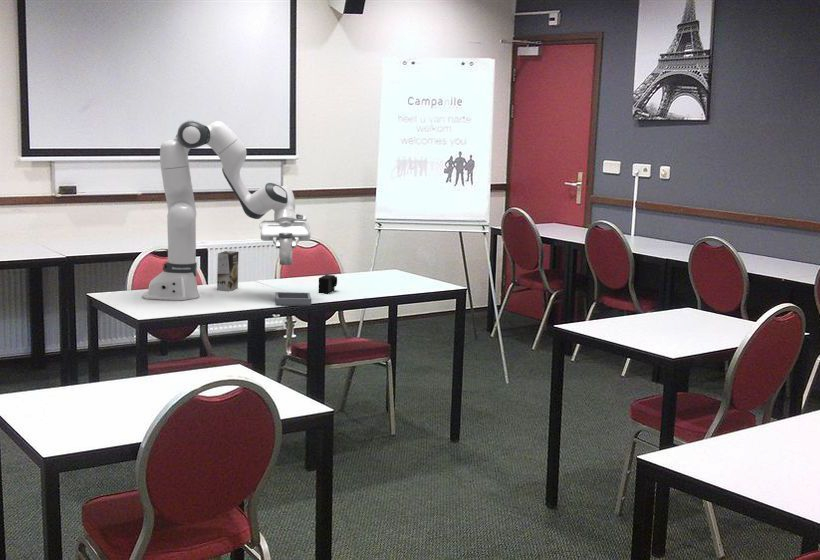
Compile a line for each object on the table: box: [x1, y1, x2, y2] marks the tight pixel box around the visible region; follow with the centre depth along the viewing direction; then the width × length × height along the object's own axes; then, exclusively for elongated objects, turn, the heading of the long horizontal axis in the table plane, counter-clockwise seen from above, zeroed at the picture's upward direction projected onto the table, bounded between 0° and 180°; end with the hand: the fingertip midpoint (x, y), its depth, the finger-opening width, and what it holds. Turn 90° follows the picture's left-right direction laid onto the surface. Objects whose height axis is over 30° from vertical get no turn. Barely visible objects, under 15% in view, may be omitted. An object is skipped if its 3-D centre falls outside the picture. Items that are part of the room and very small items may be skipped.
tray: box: [274, 291, 312, 307], centre depth 390 cm, size 14×14×3 cm
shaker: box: [278, 233, 293, 266], centre depth 388 cm, size 5×5×13 cm
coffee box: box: [216, 250, 239, 292], centre depth 414 cm, size 9×6×16 cm
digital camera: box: [317, 274, 338, 295], centre depth 418 cm, size 10×5×7 cm, turn 168°
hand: (286, 247), depth 387 cm, fingers closed on shaker, 5 cm apart
